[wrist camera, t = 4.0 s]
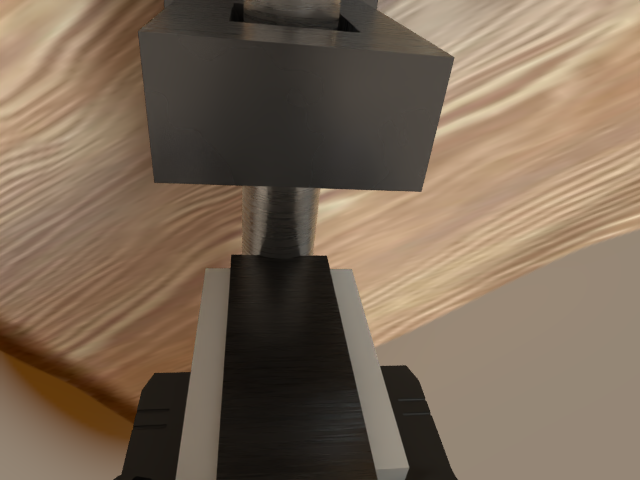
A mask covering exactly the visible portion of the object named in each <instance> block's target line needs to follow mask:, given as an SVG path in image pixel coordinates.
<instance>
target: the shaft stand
mask: <svg viewBox="0 0 640 480" xmlns="http://www.w3.org/2000/svg"><path fill="white" fill-rule="evenodd" d="M377 3H378V0H341V4H340V13H339V22H338V31H334V30H323V29H312V28H300V27H289V26H278V25H266V24H255V23H244V0H164V7H165V9H164V10H162V11H161V12H160V13H159V14H158V15H157V16H155V17H154V18H153V19H152V20H151V21H149V22H148V23H147V24H146V25H145V26H143V27H142V28H141V29H140V30H139V31H138V37H139V46H140V55H141V64H142V73H143V83H144V92H145V101H146V110H147V119H148V129H149V138H150V147H151V156H152V165H153V175H154V183H180V184H210V185H239V186H268V187H298V188H327V189H356V190H386V191H415V192H421V191H422V187H423V183H424V179H425V175H426V171H427V167H428V163H429V159H430V155H431V150H432V146H433V142H434V138H435V134H436V130H437V126H438V122H439V118H440V114H441V110H442V106H443V102H444V98H445V94H446V89H447V85H448V81H449V77H450V73H451V69H452V65H453V61H454V57H453V56H451V55H450V54H448V53H447V52H445V51H443V50H442V49H440V48H438V47H437V46H435V45H433V44H432V43H430V42H429V41H427V40H425V39H424V38H422V37H420V36H419V35H417V34H416V33H414V32H412V31H411V30H409V29H407V28H406V27H404V26H403V25H401V24H399V23H398V22H396V21H394V20H393V19H391V18H390V17H388V16H386V15H385V14H383V13H381V12H380V11H378V10H376V9H377Z"/></svg>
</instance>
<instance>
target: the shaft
mask: <svg viewBox="0 0 640 480" xmlns="http://www.w3.org/2000/svg"><path fill="white" fill-rule="evenodd" d="M340 4H341V0H244V23H255V24H266V25H278V26H289V27H300V28H312V29H323V30H334V31H338V22H339V13H340ZM319 194H320V188H298V187H268V186H242V255H231V270H230V284H229V299H228V314H227V328H226V343H225V357H224V372H223V387H222V401H221V416H220V431H219V445H218V460H217V475H216V480H378V478H377V474H376V469H375V465H374V461H373V456H372V452H371V448H370V443H369V439H368V434H367V430H366V426H365V421H364V417H363V412H362V408H361V404H360V399H359V395H358V391H357V386H356V382H355V377H354V373H353V369H352V364H351V360H350V355H349V351H348V347H347V342H346V338H345V333H344V329H343V325H342V320H341V316H340V312H339V307H338V303H337V298H336V294H335V290H334V285H333V281H332V276H331V272H330V268H329V263H328V259H327V256H313V248H314V239H315V230H316V221H317V212H318V203H319Z"/></svg>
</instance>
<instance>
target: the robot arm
mask: <svg viewBox="0 0 640 480" xmlns="http://www.w3.org/2000/svg"><path fill="white" fill-rule="evenodd" d="M230 270H231V268H206V269H205V276H204V283H203V290H202V297H201V304H200V311H199V318H198V325H197V332H196V339H195V347H194V354H193V361H192V368H191V372H179V373H154V375H153V376H152V377H151V379H150V380H149V381H148V383H147V384H146V385H145V387H144V388H143V390H142V392H141V396H140V400H139V404H138V408H137V414H136V417H135V421H134V425H133V430H132V434H131V437H130V441H129V445H128V450H127V454H126V458H125V462H124V466H123V470H122V474H121V475H120V476H118V477H116V478H115V479H114V480H216V475H217V460H218V445H219V431H220V416H221V401H222V387H223V372H224V357H225V343H226V328H227V314H228V299H229V284H230ZM330 272H331V276H332V281H333V285H334V290H335V294H336V298H337V303H338V307H339V312H340V316H341V320H342V325H343V329H344V333H345V338H346V342H347V347H348V351H349V355H350V360H351V364H352V369H353V373H354V377H355V382H356V386H357V391H358V395H359V399H360V404H361V408H362V412H363V417H364V421H365V426H366V430H367V434H368V439H369V443H370V448H371V452H372V456H373V461H374V465H375V469H376V474H377V478H378V480H458V479H457V478H456V477H455V475H454V473H453V471H452V469H451V467H450V464H449V461H448V458H447V456H446V453H445V450H444V448H443V445H442V442H441V439H440V437H439V434H438V431H437V429H436V426H435V423H434V421H433V418H432V416H431V415H430V410H429V407H428V404H427V402H426V401H425V396H424V393H423V391H422V388H421V385H420V382H419V380H418V379H417V378H416V377H415V375H414V374H413V373H412V372H411V371H410V370H409V368H408V367H407V366H404V365H403V366H380V365H379V361H378V359H377V355H376V351H375V348H374V344H373V341H372V337H371V334H370V330H369V327H368V324H367V320H366V317H365V313H364V310H363V306H362V303H361V299H360V296H359V293H358V289H357V286H356V282H355V279H354V275H353V272H352V269H330Z"/></svg>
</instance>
